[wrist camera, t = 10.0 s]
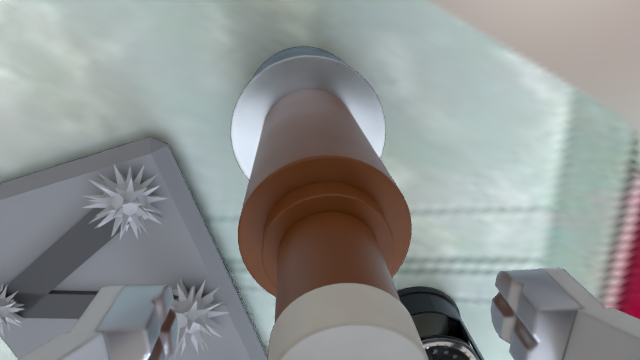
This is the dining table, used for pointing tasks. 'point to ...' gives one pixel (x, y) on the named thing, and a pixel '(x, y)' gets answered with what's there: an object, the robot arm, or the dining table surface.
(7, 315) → the decorative plate
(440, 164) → the dining table surface
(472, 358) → the french press
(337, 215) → the bottle
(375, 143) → the tin can
